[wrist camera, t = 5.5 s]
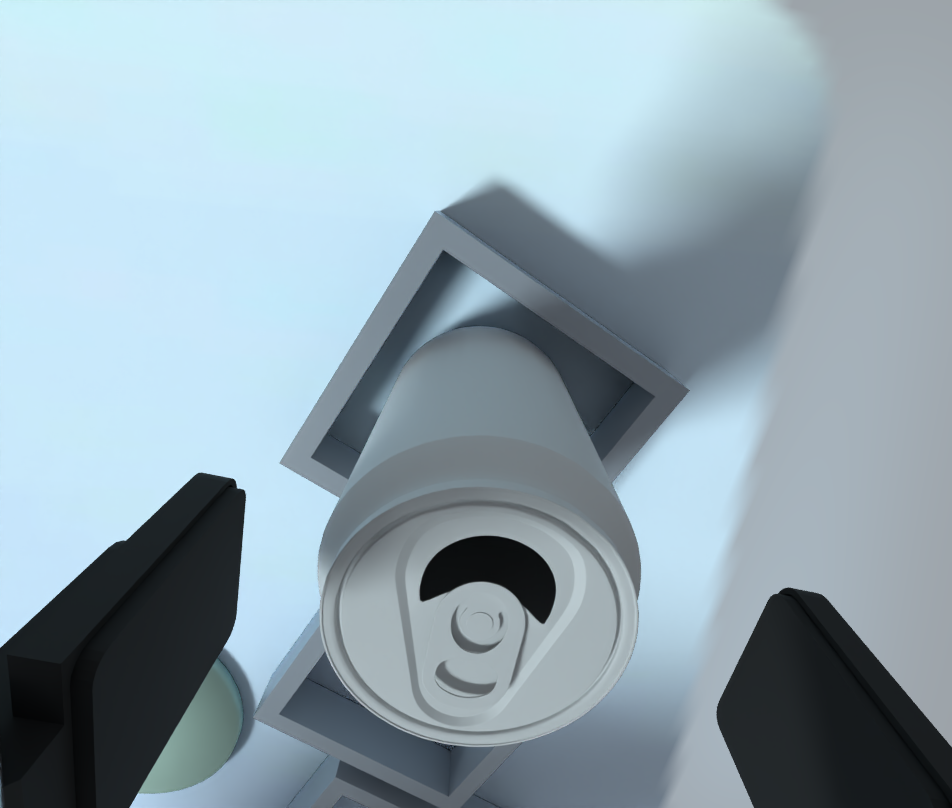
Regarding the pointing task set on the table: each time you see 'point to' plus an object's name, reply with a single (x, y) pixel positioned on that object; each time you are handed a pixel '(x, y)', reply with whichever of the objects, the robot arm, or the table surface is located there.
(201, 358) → the table surface
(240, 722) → the coaster
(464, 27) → the table surface
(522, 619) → the beverage can
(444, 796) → the tray
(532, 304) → the tray
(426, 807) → the tray
